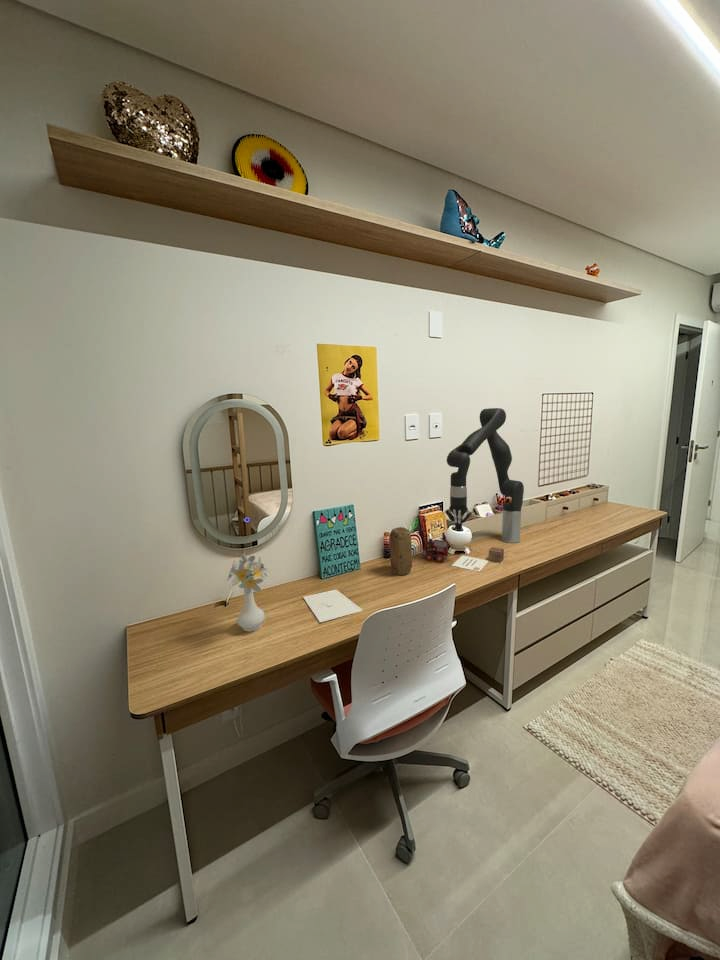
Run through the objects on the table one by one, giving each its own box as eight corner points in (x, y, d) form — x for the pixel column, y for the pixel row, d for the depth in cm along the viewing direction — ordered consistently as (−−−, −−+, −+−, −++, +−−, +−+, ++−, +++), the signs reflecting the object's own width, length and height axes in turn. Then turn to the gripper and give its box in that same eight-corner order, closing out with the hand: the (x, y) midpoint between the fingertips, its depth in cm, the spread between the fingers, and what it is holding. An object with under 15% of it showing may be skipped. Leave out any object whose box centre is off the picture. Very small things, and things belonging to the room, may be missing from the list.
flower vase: (244, 647, 118) (236, 574, 113) (227, 622, 132) (219, 556, 128) (282, 632, 125) (276, 562, 121) (261, 610, 140) (255, 547, 135)
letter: (462, 555, 183) (462, 555, 183) (488, 561, 176) (488, 560, 176) (451, 565, 172) (451, 565, 172) (479, 571, 165) (479, 571, 165)
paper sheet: (301, 596, 150) (301, 593, 150) (367, 584, 160) (367, 581, 160) (315, 625, 129) (315, 622, 128) (391, 610, 139) (391, 607, 138)
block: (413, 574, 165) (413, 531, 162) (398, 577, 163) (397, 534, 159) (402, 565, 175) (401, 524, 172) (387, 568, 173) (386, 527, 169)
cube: (492, 557, 181) (492, 546, 180) (503, 559, 177) (504, 548, 176) (488, 561, 176) (488, 550, 175) (500, 563, 173) (500, 552, 172)
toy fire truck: (425, 555, 187) (425, 535, 185) (450, 558, 181) (450, 538, 179) (421, 560, 180) (421, 539, 179) (446, 564, 175) (446, 543, 173)
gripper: (475, 494, 171) (475, 530, 174) (448, 491, 178) (448, 526, 182) (469, 498, 165) (469, 535, 168) (441, 495, 173) (442, 530, 176)
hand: (458, 530), depth 175 cm, fingers closed
